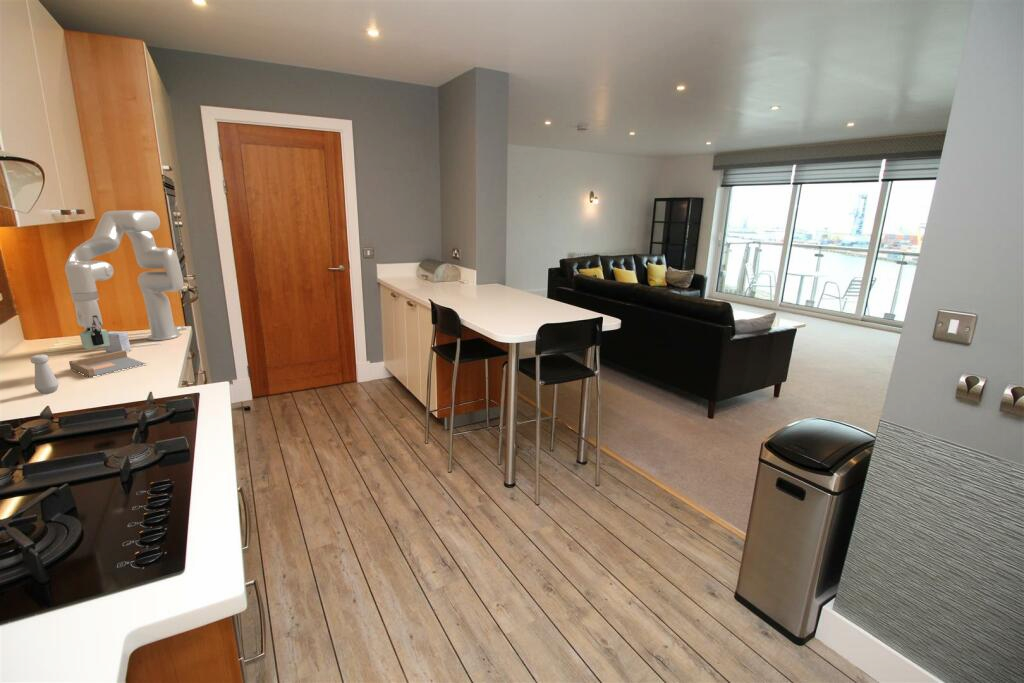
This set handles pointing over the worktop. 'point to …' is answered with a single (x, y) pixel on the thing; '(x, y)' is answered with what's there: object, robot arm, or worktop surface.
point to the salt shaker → (44, 375)
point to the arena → (104, 363)
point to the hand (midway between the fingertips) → (95, 343)
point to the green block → (87, 339)
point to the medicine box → (117, 342)
